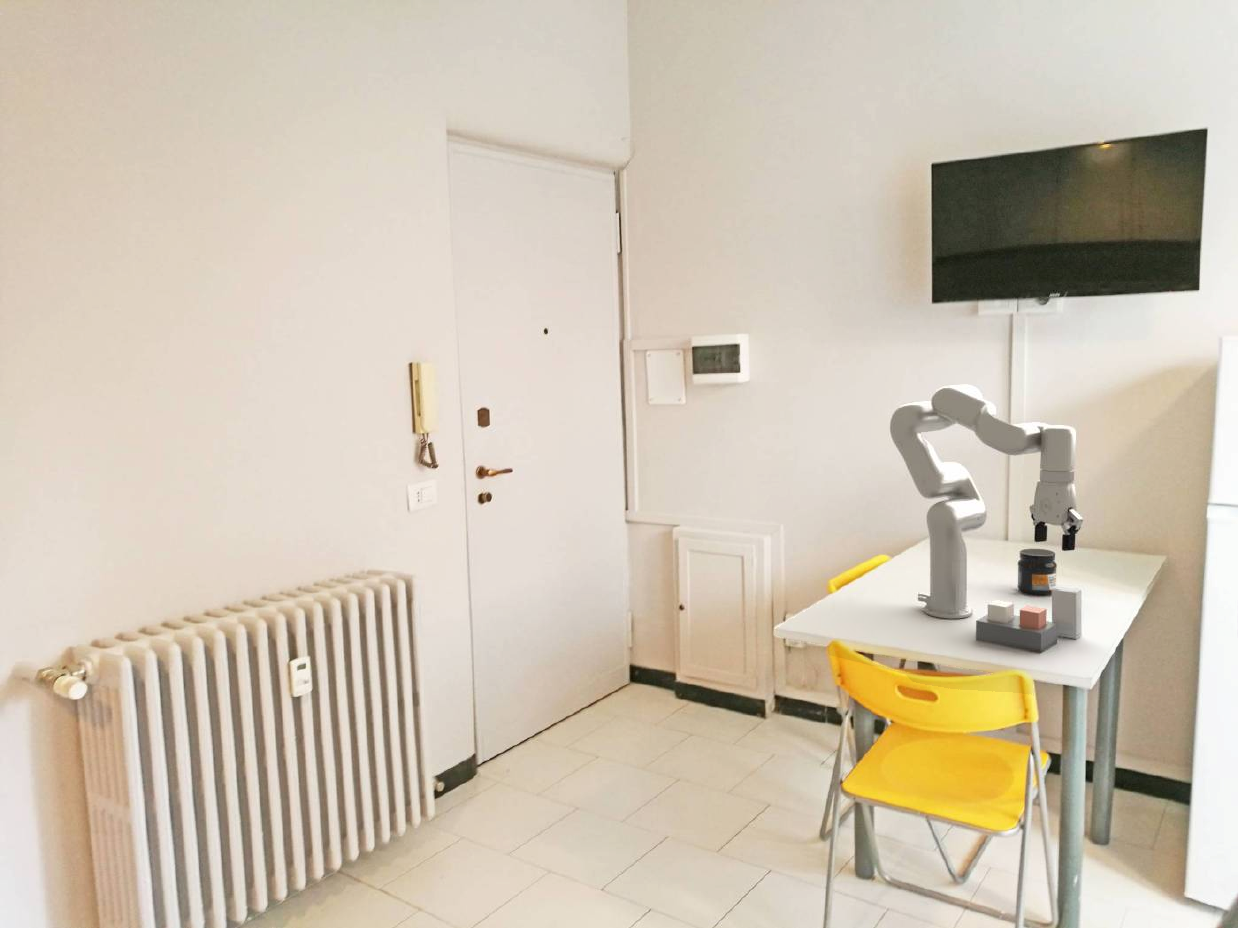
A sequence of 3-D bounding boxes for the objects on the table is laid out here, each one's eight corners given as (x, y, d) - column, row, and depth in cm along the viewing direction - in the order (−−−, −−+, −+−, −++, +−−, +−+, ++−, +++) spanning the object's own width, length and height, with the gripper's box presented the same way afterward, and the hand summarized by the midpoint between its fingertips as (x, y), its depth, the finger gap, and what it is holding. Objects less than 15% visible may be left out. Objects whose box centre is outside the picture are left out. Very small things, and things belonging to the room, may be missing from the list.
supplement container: (1060, 596, 265) (1061, 556, 263) (1021, 596, 267) (1022, 556, 266) (1051, 587, 275) (1051, 548, 274) (1013, 586, 277) (1014, 547, 276)
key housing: (976, 639, 231) (976, 620, 231) (993, 630, 238) (993, 611, 238) (1040, 653, 220) (1041, 633, 219) (1057, 642, 227) (1057, 623, 226)
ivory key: (987, 621, 231) (987, 603, 231) (995, 616, 235) (995, 599, 234) (1005, 624, 228) (1006, 607, 228) (1013, 620, 231) (1013, 603, 231)
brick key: (1019, 627, 226) (1019, 609, 225) (1027, 622, 229) (1027, 605, 228) (1038, 631, 222) (1038, 613, 222) (1046, 626, 226) (1046, 608, 225)
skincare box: (1082, 635, 231) (1083, 588, 230) (1076, 640, 228) (1077, 592, 227) (1056, 631, 236) (1057, 585, 234) (1050, 635, 232) (1051, 589, 231)
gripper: (1019, 472, 230) (1017, 539, 232) (1069, 483, 213) (1066, 555, 215) (1045, 470, 231) (1043, 537, 234) (1096, 481, 215) (1093, 552, 217)
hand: (1054, 545), depth 225 cm, fingers open, 9 cm apart
